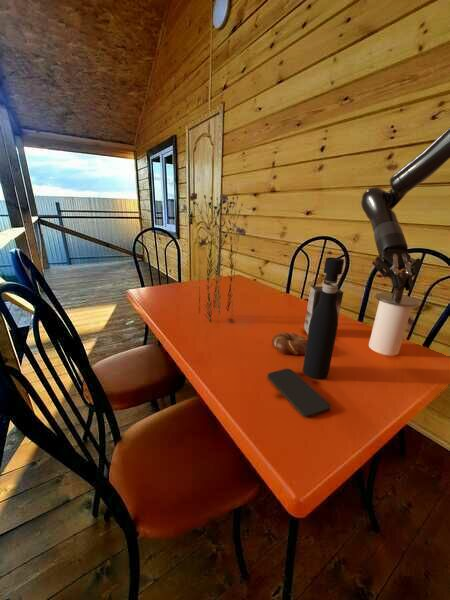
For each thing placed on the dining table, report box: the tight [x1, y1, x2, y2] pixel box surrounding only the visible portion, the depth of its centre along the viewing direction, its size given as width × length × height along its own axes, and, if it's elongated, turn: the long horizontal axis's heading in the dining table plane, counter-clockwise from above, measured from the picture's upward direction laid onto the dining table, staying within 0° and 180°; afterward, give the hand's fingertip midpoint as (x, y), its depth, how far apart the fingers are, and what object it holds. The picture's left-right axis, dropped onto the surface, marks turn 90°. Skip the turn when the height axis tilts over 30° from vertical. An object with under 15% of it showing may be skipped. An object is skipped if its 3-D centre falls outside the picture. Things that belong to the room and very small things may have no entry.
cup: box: [368, 300, 413, 357], centre depth 77 cm, size 8×8×16 cm
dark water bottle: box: [302, 257, 345, 381], centre depth 62 cm, size 6×6×30 cm
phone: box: [267, 368, 332, 418], centre depth 59 cm, size 7×1×15 cm
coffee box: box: [303, 285, 344, 335], centre depth 87 cm, size 9×6×16 cm
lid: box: [374, 272, 420, 308], centre depth 73 cm, size 11×11×8 cm
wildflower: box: [189, 192, 246, 323], centre depth 91 cm, size 22×23×45 cm
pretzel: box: [271, 332, 307, 356], centre depth 78 cm, size 12×11×4 cm
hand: (404, 288), depth 71 cm, fingers closed on lid, 2 cm apart
